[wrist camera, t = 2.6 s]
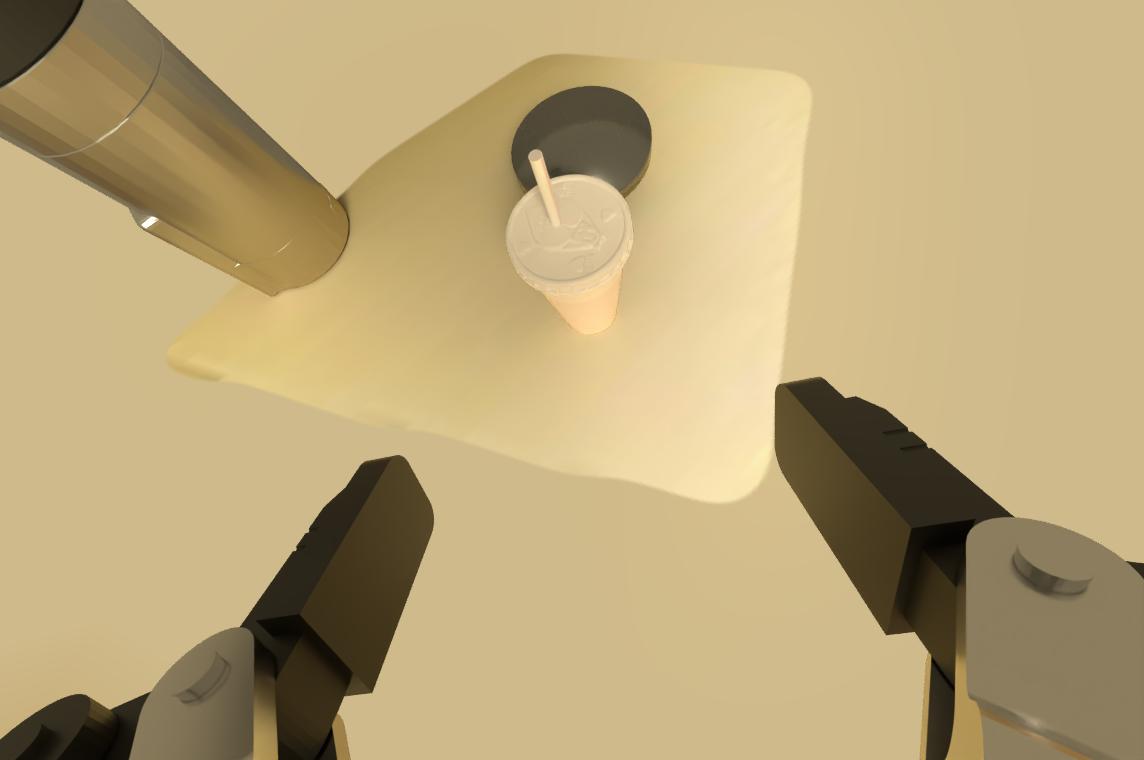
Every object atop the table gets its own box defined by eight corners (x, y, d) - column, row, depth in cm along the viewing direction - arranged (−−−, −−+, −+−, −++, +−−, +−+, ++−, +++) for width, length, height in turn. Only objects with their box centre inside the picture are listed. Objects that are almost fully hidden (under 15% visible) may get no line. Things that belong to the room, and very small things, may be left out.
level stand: (576, 256, 31) (569, 230, 28) (499, 178, 34) (485, 146, 31) (678, 172, 31) (682, 137, 28) (593, 102, 34) (588, 64, 31)
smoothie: (573, 256, 31) (521, 76, 17) (652, 289, 29) (661, 119, 16) (530, 329, 30) (438, 198, 16) (608, 368, 28) (578, 257, 15)
